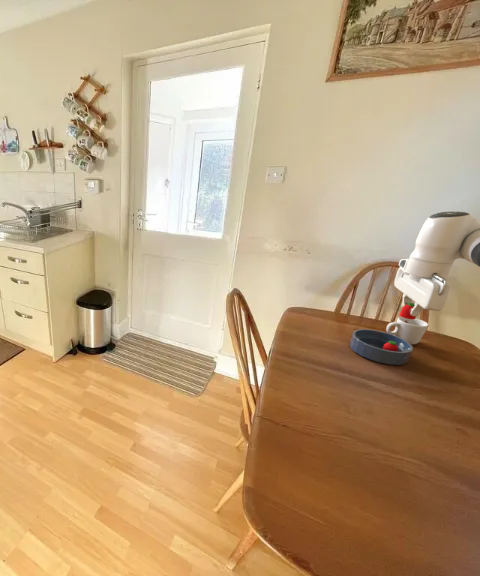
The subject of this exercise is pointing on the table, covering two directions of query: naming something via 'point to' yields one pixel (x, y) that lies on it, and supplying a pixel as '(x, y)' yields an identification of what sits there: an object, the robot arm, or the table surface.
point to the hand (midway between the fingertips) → (409, 311)
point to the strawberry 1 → (390, 346)
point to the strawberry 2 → (407, 311)
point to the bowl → (380, 346)
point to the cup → (408, 329)
